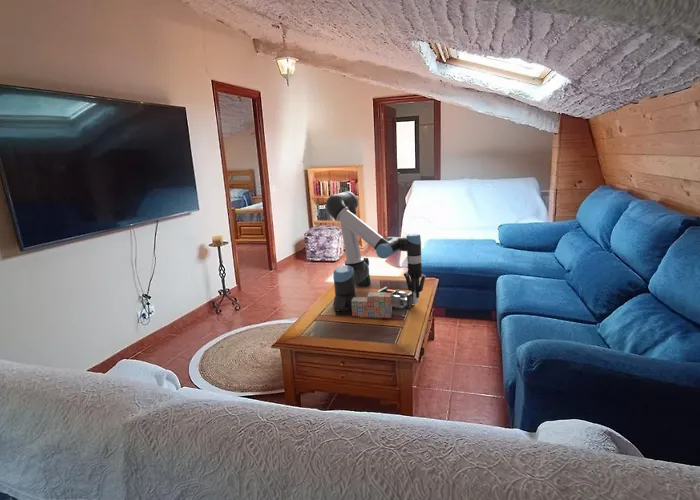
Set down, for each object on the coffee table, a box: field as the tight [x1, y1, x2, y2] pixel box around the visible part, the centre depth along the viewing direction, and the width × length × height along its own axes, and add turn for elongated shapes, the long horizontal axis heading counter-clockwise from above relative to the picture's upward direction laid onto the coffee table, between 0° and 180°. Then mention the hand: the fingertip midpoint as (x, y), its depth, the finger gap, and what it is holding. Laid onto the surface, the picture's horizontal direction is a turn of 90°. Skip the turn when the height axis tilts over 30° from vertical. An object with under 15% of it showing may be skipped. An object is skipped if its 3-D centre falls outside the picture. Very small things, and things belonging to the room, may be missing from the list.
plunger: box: [391, 288, 415, 309], centre depth 232 cm, size 9×15×8 cm, turn 53°
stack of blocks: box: [351, 291, 393, 319], centre depth 220 cm, size 21×6×12 cm, turn 76°
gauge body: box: [376, 286, 407, 309], centre depth 235 cm, size 9×17×7 cm, turn 53°
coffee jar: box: [355, 257, 372, 287], centre depth 269 cm, size 10×8×19 cm
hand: (415, 302), depth 227 cm, fingers closed
